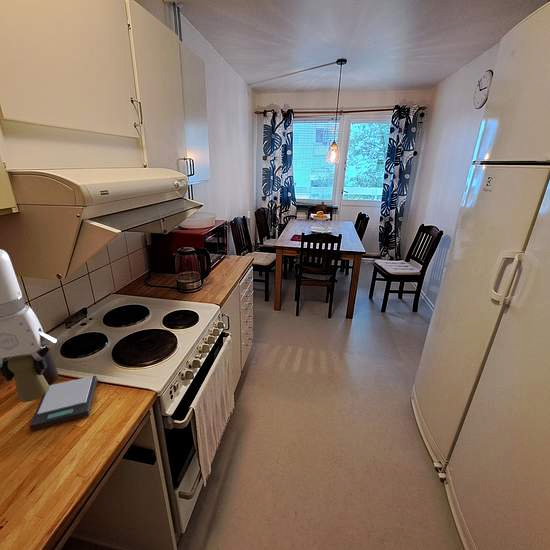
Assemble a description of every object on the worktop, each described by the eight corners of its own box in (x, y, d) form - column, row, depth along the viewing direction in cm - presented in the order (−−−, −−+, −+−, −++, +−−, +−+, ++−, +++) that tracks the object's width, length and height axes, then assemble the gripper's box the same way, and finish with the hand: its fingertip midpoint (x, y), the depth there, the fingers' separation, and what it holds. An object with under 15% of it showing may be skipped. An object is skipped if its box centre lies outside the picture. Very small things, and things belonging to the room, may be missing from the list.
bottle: (42, 390, 93) (23, 338, 86) (29, 384, 96) (9, 333, 88) (63, 376, 99) (47, 327, 92) (50, 371, 102) (33, 323, 94)
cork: (12, 397, 68) (-4, 360, 64) (39, 380, 73) (26, 345, 69) (28, 405, 66) (13, 367, 62) (55, 387, 71) (42, 351, 67)
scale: (31, 431, 79) (28, 424, 78) (48, 391, 93) (46, 385, 92) (89, 416, 84) (87, 409, 83) (97, 379, 98) (96, 374, 97)
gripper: (-64, 321, 55) (-28, 394, 62) (43, 308, 61) (65, 376, 67) (-40, 304, 61) (-10, 371, 68) (55, 294, 67) (73, 357, 74)
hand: (27, 373), depth 68 cm, fingers closed on cork, 5 cm apart
